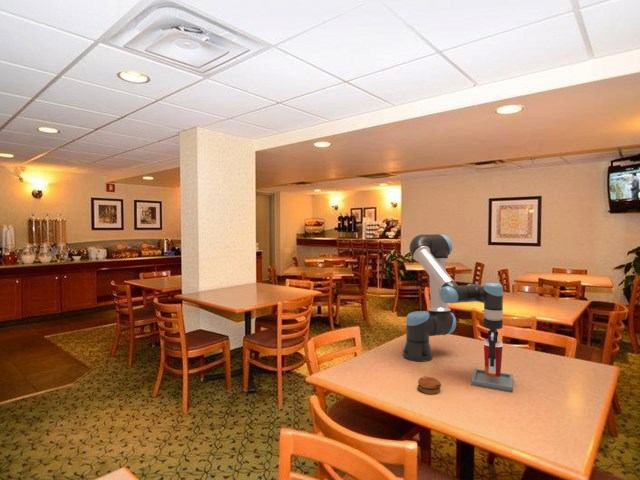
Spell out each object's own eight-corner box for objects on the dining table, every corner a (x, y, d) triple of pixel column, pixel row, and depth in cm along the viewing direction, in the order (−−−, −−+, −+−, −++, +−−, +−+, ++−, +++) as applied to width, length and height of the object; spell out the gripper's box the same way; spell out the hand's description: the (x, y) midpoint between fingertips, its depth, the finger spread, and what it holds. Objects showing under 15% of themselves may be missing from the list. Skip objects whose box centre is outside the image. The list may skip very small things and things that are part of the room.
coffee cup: (498, 371, 172) (499, 338, 171) (506, 378, 164) (506, 344, 163) (479, 370, 173) (480, 338, 172) (485, 377, 164) (486, 343, 164)
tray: (474, 372, 179) (474, 368, 179) (512, 378, 172) (512, 374, 172) (471, 385, 165) (471, 380, 165) (512, 392, 157) (512, 387, 157)
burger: (433, 397, 153) (433, 385, 153) (413, 390, 160) (413, 379, 160) (445, 389, 160) (445, 378, 160) (425, 383, 167) (425, 373, 167)
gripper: (485, 313, 178) (484, 362, 178) (482, 322, 160) (481, 376, 161) (503, 314, 174) (502, 364, 175) (501, 324, 157) (501, 379, 157)
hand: (492, 370), depth 168 cm, fingers closed on coffee cup, 7 cm apart
